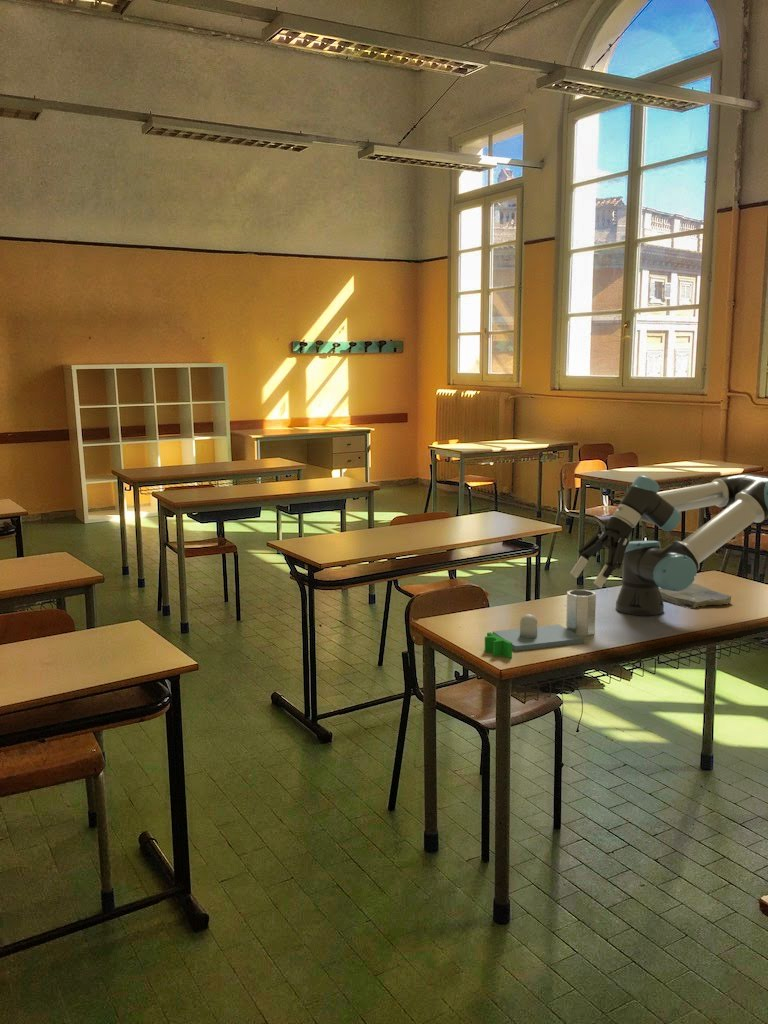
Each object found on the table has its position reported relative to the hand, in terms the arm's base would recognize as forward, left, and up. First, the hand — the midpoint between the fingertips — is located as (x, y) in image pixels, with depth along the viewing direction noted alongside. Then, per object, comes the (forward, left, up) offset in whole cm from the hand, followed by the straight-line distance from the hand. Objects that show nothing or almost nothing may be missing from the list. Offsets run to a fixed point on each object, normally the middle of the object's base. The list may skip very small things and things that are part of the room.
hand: (584, 580), depth 259 cm
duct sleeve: (+2, +2, -15) cm, 16 cm away
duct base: (+18, +5, -15) cm, 24 cm away
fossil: (-53, -17, -16) cm, 58 cm away
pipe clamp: (+35, +12, -16) cm, 40 cm away
